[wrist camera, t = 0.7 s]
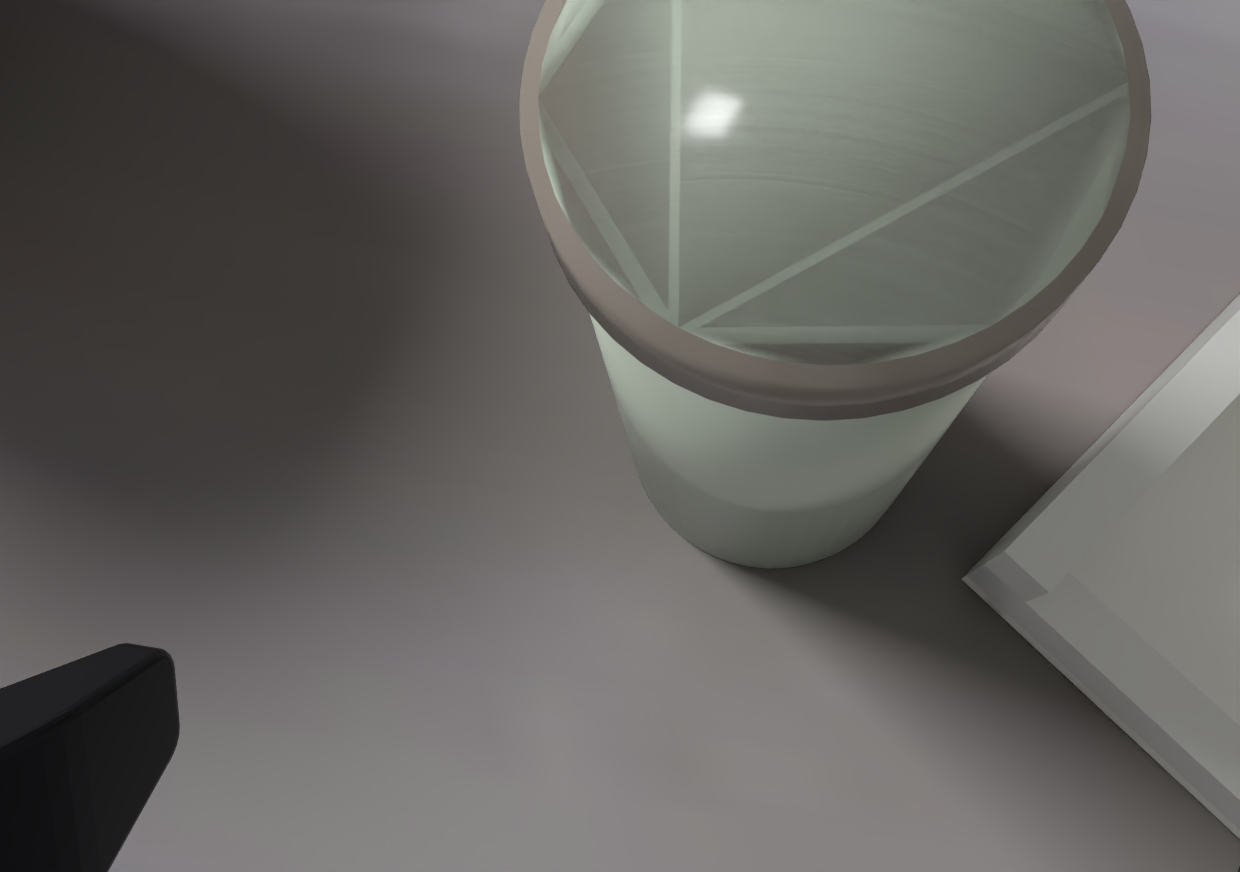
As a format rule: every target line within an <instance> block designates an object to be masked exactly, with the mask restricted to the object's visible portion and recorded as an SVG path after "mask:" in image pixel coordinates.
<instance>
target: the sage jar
mask: <svg viewBox="0 0 1240 872" xmlns="http://www.w3.org/2000/svg"><path fill="white" fill-rule="evenodd" d="M519 100H520V136H521V142H522V147H523V153H524V159H525V165H526V170H527V173H528V176H529V179H530V182H531V185H532V188H533V192H534V195H535V198H536V201H537V204H538V207H539V210H540V213H541V216H542V219H543V222H544V225H545V228H546V231H547V234H548V237H549V240H550V242H551V245H552V248H553V251H554V254H555V256H556V258H557V260H558V262H559V264H560V266H561V268H562V270H563V272H564V274H565V276H566V278H567V280H568V282H569V284H570V286H571V287H572V289H573V290H574V292H575V293H576V295H577V296H578V297H579V299H580V300H581V302H582V303H583V305H584V306H585V308H586V309H587V311H588V312H589V313H590V316H591V319H592V323H593V326H594V329H595V333H596V336H597V339H598V343H599V346H600V349H601V353H602V356H603V359H604V362H605V366H606V369H607V372H608V376H609V379H610V382H611V386H612V389H613V392H614V396H615V399H616V402H617V406H618V409H619V412H620V416H621V419H622V422H623V426H624V429H625V432H626V436H627V439H628V442H629V446H630V449H631V452H632V456H633V459H634V462H635V466H636V469H637V472H638V475H639V478H640V481H641V483H642V485H643V487H644V490H645V492H646V494H647V496H648V498H649V499H650V501H651V502H652V504H653V505H654V507H655V508H656V510H657V511H658V513H659V514H660V515H661V516H662V518H663V519H664V520H665V521H666V522H667V523H668V524H669V526H670V527H671V528H673V529H674V530H675V531H676V532H677V533H678V534H679V535H681V536H682V537H683V538H684V539H685V540H687V541H688V542H690V543H691V544H693V545H694V546H696V547H697V548H699V549H701V550H703V551H705V552H707V553H709V554H711V555H713V556H715V557H717V558H720V559H723V560H726V561H728V562H731V563H735V564H739V565H744V566H749V567H757V568H790V567H795V566H800V565H806V564H810V563H813V562H816V561H819V560H822V559H825V558H828V557H830V556H832V555H834V554H836V553H838V552H840V551H842V550H844V549H845V548H847V547H848V546H850V545H851V544H853V543H854V542H856V541H857V540H859V539H860V538H861V537H862V536H863V535H865V534H866V533H867V532H868V531H869V530H870V529H871V528H872V527H873V526H874V525H875V524H876V523H877V522H878V521H879V519H880V518H881V517H882V516H883V515H884V514H885V512H886V511H887V509H888V508H889V507H890V505H891V504H892V503H893V501H894V500H895V499H896V497H897V496H898V495H899V493H900V492H901V491H902V489H903V488H904V487H905V485H906V484H907V483H908V481H909V480H910V479H911V477H912V476H913V475H914V473H915V472H916V471H917V469H918V468H919V467H920V465H921V464H922V462H923V461H924V460H925V458H926V457H927V456H928V454H929V453H930V452H931V450H932V449H933V448H934V446H935V445H936V444H937V442H938V441H939V440H940V438H941V437H942V436H943V434H944V433H945V432H946V430H947V429H948V428H949V426H950V425H951V424H952V422H953V421H954V419H955V418H956V417H957V415H958V414H959V413H960V411H961V410H962V409H963V407H964V406H965V405H966V403H967V402H968V401H969V399H970V398H971V397H972V395H973V394H974V393H975V391H976V390H977V389H978V387H979V386H980V385H981V383H982V382H983V381H984V379H985V378H986V376H987V375H988V374H989V373H990V372H992V371H993V370H995V369H996V368H998V367H999V366H1001V365H1003V364H1004V363H1006V362H1007V361H1009V360H1010V359H1011V358H1012V357H1013V356H1014V355H1016V354H1017V353H1018V352H1019V351H1020V350H1021V349H1023V348H1024V347H1025V346H1026V345H1027V344H1028V343H1029V342H1031V341H1032V340H1033V339H1034V338H1035V337H1036V336H1038V334H1039V333H1040V332H1041V331H1042V330H1043V329H1044V327H1045V326H1046V325H1047V324H1048V323H1049V322H1050V321H1051V319H1052V318H1053V317H1054V316H1055V315H1056V314H1057V313H1058V311H1059V310H1060V309H1061V308H1062V307H1063V305H1064V304H1065V303H1066V302H1067V300H1068V299H1069V298H1070V297H1071V295H1072V294H1073V293H1074V292H1075V290H1076V289H1077V288H1078V287H1079V285H1080V284H1081V283H1082V282H1083V281H1084V279H1085V278H1086V277H1087V276H1088V274H1089V273H1090V272H1091V271H1092V269H1093V268H1094V267H1095V266H1096V264H1097V263H1098V262H1099V261H1100V259H1101V257H1102V256H1103V254H1104V253H1105V251H1106V250H1107V248H1108V247H1109V245H1110V243H1111V242H1112V240H1113V239H1114V237H1115V236H1116V234H1117V233H1118V231H1119V229H1120V228H1121V226H1122V224H1123V222H1124V219H1125V217H1126V215H1127V213H1128V210H1129V208H1130V206H1131V204H1132V201H1133V199H1134V197H1135V195H1136V193H1137V189H1138V186H1139V182H1140V179H1141V175H1142V171H1143V168H1144V164H1145V160H1146V157H1147V151H1148V142H1149V133H1150V124H1151V100H1150V80H1149V75H1148V70H1147V65H1146V59H1145V54H1144V49H1143V44H1142V42H1141V39H1140V36H1139V33H1138V31H1137V28H1136V25H1135V22H1134V19H1133V17H1132V14H1131V11H1130V9H1129V7H1128V5H1127V3H1126V1H1125V0H546V2H545V4H544V6H543V9H542V11H541V13H540V16H539V18H538V20H537V22H536V25H535V27H534V29H533V33H532V36H531V40H530V43H529V47H528V51H527V54H526V58H525V61H524V67H523V75H522V82H521V90H520V98H519Z"/></svg>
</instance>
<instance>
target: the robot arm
mask: <svg viewBox="0 0 1240 872" xmlns="http://www.w3.org/2000/svg"><path fill="white" fill-rule="evenodd" d="M179 729H180V724H179V712H178V701H177V689H176V678H175V667H174V662H173V659H172V657H171V655H170V654H169V653H168V652H166V651H165V650H163V649H159V648H154V647H148V646H142V645H136V644H130V643H124V644H119V645H116V646H113V647H110V648H108V649H105V650H102V651H100V652H97V653H94V654H92V655H89V656H86V657H84V658H81V659H78V660H76V661H73V662H70V663H68V664H65V665H62V666H60V667H57V668H54V669H52V670H49V671H46V672H44V673H41V674H39V675H36V676H33V677H31V678H28V679H25V680H23V681H20V682H17V683H15V684H12V685H9V686H7V687H4V688H1V689H0V872H108V871H109V869H110V867H111V865H112V864H113V862H114V860H115V858H116V856H117V855H118V853H119V851H120V849H121V847H122V846H123V844H124V842H125V840H126V838H127V837H128V835H129V833H130V831H131V829H132V828H133V826H134V824H135V822H136V821H137V819H138V817H139V815H140V813H141V812H142V810H143V808H144V806H145V804H146V803H147V801H148V799H149V797H150V795H151V794H152V792H153V790H154V788H155V786H156V785H157V783H158V781H159V779H160V777H161V776H162V774H163V772H164V770H165V769H166V767H167V765H168V763H169V761H170V760H171V758H172V756H173V754H174V751H175V748H176V746H177V742H178V738H179ZM1238 872H1240V867H1239V869H1238Z"/></svg>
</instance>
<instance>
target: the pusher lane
mask: <svg viewBox="0 0 1240 872" xmlns="http://www.w3.org/2000/svg"><path fill="white" fill-rule="evenodd" d="M962 580H963V581H964V582H965V583H966V584H967V585H968V586H969V587H970V588H971V589H972V590H973V591H974V592H975V593H977V594H978V595H979V596H980V597H981V598H982V599H983V600H984V601H985V602H986V603H987V604H988V605H989V606H990V607H992V608H993V609H994V610H995V611H996V612H997V613H998V614H999V615H1000V616H1001V617H1002V618H1003V619H1004V620H1005V621H1007V622H1008V623H1009V624H1010V625H1011V626H1012V627H1013V628H1014V629H1015V630H1016V631H1017V632H1018V633H1019V634H1020V635H1022V636H1023V637H1024V638H1025V639H1026V640H1027V641H1028V642H1029V643H1030V644H1031V645H1032V646H1033V647H1034V648H1035V649H1037V650H1038V651H1039V652H1040V653H1041V654H1042V655H1043V656H1044V657H1045V658H1046V659H1047V660H1048V661H1049V662H1051V663H1052V664H1053V665H1054V666H1055V667H1056V668H1057V669H1058V670H1059V671H1060V672H1061V673H1062V674H1063V675H1064V676H1066V677H1067V678H1068V679H1069V680H1070V681H1071V682H1072V683H1073V684H1074V685H1075V686H1076V687H1077V688H1078V689H1079V690H1081V691H1082V692H1083V693H1084V694H1085V695H1086V696H1087V697H1088V698H1089V699H1090V700H1091V701H1092V702H1093V703H1094V704H1096V705H1097V706H1098V707H1099V708H1100V709H1101V710H1102V711H1103V712H1104V713H1105V714H1106V715H1107V716H1108V717H1109V718H1111V719H1112V720H1113V721H1114V722H1115V723H1116V724H1117V725H1118V726H1119V727H1120V728H1121V729H1122V730H1123V731H1124V732H1126V733H1127V734H1128V735H1129V736H1130V737H1131V738H1132V739H1133V740H1134V741H1135V742H1136V743H1137V744H1138V745H1139V746H1141V747H1142V748H1143V749H1144V750H1145V751H1146V752H1147V753H1148V754H1149V755H1150V756H1151V757H1152V758H1153V759H1155V760H1156V761H1157V762H1158V763H1159V764H1160V765H1161V766H1162V767H1163V768H1164V769H1165V770H1166V771H1167V772H1168V773H1170V774H1171V775H1172V776H1173V777H1174V778H1175V779H1176V780H1177V781H1178V782H1179V783H1180V784H1181V785H1182V786H1183V787H1185V788H1186V789H1187V790H1188V791H1189V792H1190V793H1191V794H1192V795H1193V796H1194V797H1195V798H1196V799H1197V800H1198V801H1200V802H1201V803H1202V804H1203V805H1204V806H1205V807H1206V808H1207V809H1208V810H1209V811H1210V812H1211V813H1212V814H1213V815H1215V816H1216V817H1217V818H1218V819H1219V820H1220V821H1221V822H1222V823H1223V824H1224V825H1225V826H1226V827H1227V828H1228V829H1230V830H1231V831H1232V832H1233V833H1234V834H1235V835H1236V836H1237V837H1238V838H1239V839H1240V294H1239V295H1238V296H1237V297H1236V298H1235V299H1234V300H1233V301H1232V302H1231V303H1230V304H1229V305H1228V306H1227V307H1226V309H1225V310H1224V311H1223V312H1222V313H1221V314H1220V315H1219V316H1218V317H1217V318H1216V319H1215V320H1214V321H1213V322H1212V323H1211V324H1210V325H1209V326H1208V327H1207V328H1206V329H1205V330H1204V331H1203V332H1202V333H1201V334H1200V335H1199V336H1198V337H1197V338H1196V339H1195V340H1194V341H1193V342H1192V343H1191V344H1190V345H1189V346H1188V347H1187V348H1186V349H1185V350H1184V352H1183V353H1182V354H1181V355H1180V356H1179V357H1178V358H1177V359H1176V360H1175V361H1174V362H1173V363H1172V364H1171V365H1170V366H1169V367H1168V368H1167V369H1166V370H1165V371H1164V372H1163V373H1162V374H1161V375H1160V376H1159V377H1158V378H1157V379H1156V380H1155V381H1154V382H1153V383H1152V384H1151V385H1150V386H1149V387H1148V388H1147V389H1146V390H1145V391H1144V392H1143V393H1142V395H1141V396H1140V397H1139V398H1138V399H1137V400H1136V401H1135V402H1134V403H1133V404H1132V405H1131V406H1130V407H1129V408H1128V409H1127V410H1126V411H1125V412H1124V413H1123V414H1122V415H1121V416H1120V417H1119V418H1118V419H1117V420H1116V421H1115V422H1114V423H1113V424H1112V425H1111V426H1110V427H1109V428H1108V429H1107V430H1106V431H1105V432H1104V433H1103V434H1102V435H1101V436H1100V438H1099V439H1098V440H1097V441H1096V442H1095V443H1094V444H1093V445H1092V446H1091V447H1090V448H1089V449H1088V450H1087V451H1086V452H1085V453H1084V454H1083V455H1082V456H1081V457H1080V458H1079V459H1078V460H1077V461H1076V462H1075V463H1074V464H1073V465H1072V466H1071V467H1070V468H1069V469H1068V470H1067V471H1066V472H1065V473H1064V474H1063V475H1062V476H1061V477H1060V478H1059V479H1058V481H1057V482H1056V483H1055V484H1054V485H1053V486H1052V487H1051V488H1050V489H1049V490H1048V491H1047V492H1046V493H1045V494H1044V495H1043V496H1042V497H1041V498H1040V499H1039V500H1038V501H1037V502H1036V503H1035V504H1034V505H1033V506H1032V507H1031V508H1030V509H1029V510H1028V511H1027V512H1026V513H1025V514H1024V515H1023V516H1022V517H1021V518H1020V519H1019V520H1018V521H1017V522H1016V524H1015V525H1014V526H1013V527H1012V528H1011V529H1010V530H1009V531H1008V532H1007V533H1006V534H1005V535H1004V536H1003V537H1002V538H1001V539H1000V540H999V541H998V542H997V543H996V544H995V545H994V546H993V547H992V548H991V549H990V550H989V551H988V552H987V553H986V554H985V555H984V556H983V557H982V558H981V559H980V560H979V561H978V562H977V563H976V564H975V565H974V567H973V568H972V569H971V570H970V571H969V572H968V573H967V574H966V575H965V576H964V577H963V578H962Z"/></svg>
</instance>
